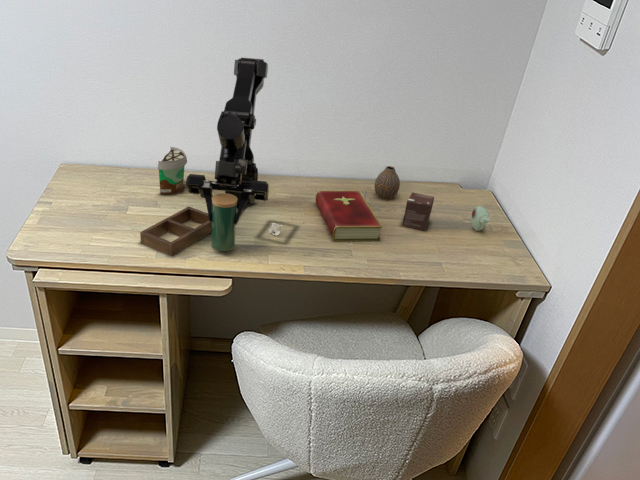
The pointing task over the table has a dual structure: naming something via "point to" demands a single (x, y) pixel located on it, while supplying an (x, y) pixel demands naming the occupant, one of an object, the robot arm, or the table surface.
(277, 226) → the adhesive hook
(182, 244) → the rack
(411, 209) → the box
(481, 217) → the pale green lumpy piece
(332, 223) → the hardcover book
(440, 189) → the table surface
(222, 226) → the canister
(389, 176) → the vase
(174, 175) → the food container
